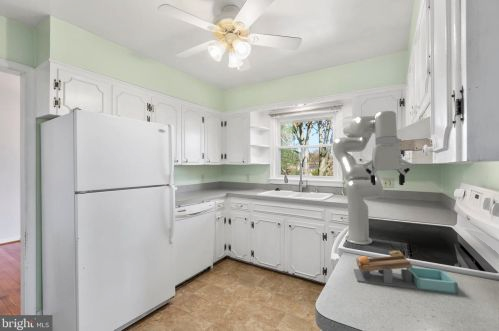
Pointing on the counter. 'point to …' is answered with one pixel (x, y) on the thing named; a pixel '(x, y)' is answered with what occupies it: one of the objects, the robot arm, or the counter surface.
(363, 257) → the ball
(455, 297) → the counter surface
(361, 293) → the counter surface
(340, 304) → the counter surface
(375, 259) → the seesaw lever
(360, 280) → the lever stand
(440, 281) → the dish
